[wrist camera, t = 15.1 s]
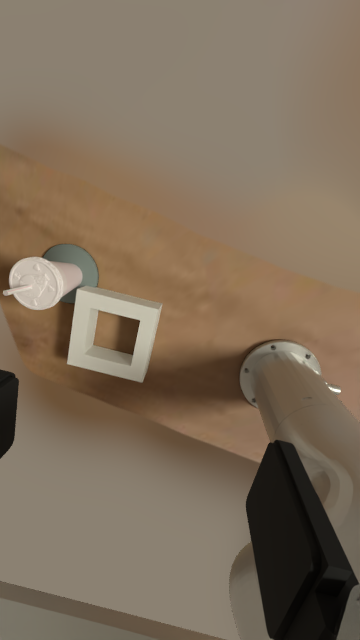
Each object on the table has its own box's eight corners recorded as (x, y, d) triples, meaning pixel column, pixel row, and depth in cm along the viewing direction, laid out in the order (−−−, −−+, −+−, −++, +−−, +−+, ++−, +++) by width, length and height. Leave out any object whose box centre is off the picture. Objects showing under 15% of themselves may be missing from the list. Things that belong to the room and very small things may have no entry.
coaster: (102, 252, 41) (101, 252, 41) (94, 308, 44) (92, 309, 43) (45, 237, 41) (42, 237, 41) (39, 294, 44) (37, 295, 43)
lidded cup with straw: (42, 267, 42) (-33, 278, 28) (75, 246, 41) (14, 247, 27) (66, 303, 43) (5, 330, 30) (99, 283, 42) (51, 302, 29)
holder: (162, 303, 43) (158, 309, 39) (147, 371, 46) (142, 382, 42) (88, 284, 43) (76, 289, 39) (78, 353, 46) (67, 363, 42)
